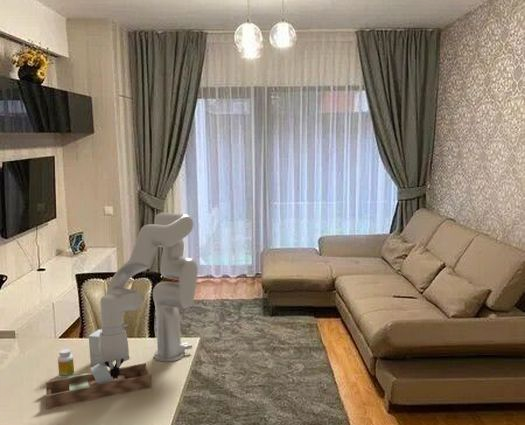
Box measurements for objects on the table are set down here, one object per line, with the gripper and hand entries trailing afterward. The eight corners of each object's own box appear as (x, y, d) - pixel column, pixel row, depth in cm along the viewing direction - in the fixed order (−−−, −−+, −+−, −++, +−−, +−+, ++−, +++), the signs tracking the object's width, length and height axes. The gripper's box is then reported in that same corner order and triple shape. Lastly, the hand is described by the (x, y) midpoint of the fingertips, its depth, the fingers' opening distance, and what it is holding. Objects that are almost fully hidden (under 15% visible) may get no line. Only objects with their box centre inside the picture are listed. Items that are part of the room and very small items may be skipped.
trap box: (146, 374, 184) (145, 362, 184) (151, 387, 175) (151, 374, 174) (46, 393, 170) (45, 381, 170) (46, 409, 161) (45, 395, 160)
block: (110, 374, 176) (103, 360, 174) (112, 380, 171) (106, 366, 170) (96, 381, 174) (90, 368, 172) (99, 387, 169) (92, 373, 168)
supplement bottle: (68, 378, 181) (67, 354, 180) (56, 377, 183) (54, 353, 181) (77, 372, 187) (75, 348, 185) (64, 371, 188) (62, 347, 186)
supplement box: (116, 359, 197) (114, 330, 196) (106, 367, 190) (104, 337, 188) (100, 357, 199) (98, 328, 197) (89, 365, 192) (88, 335, 190)
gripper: (132, 322, 178) (134, 369, 180) (89, 328, 172) (92, 377, 174) (135, 329, 171) (137, 377, 174) (91, 336, 165) (94, 386, 168)
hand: (115, 377), depth 174 cm, fingers closed
